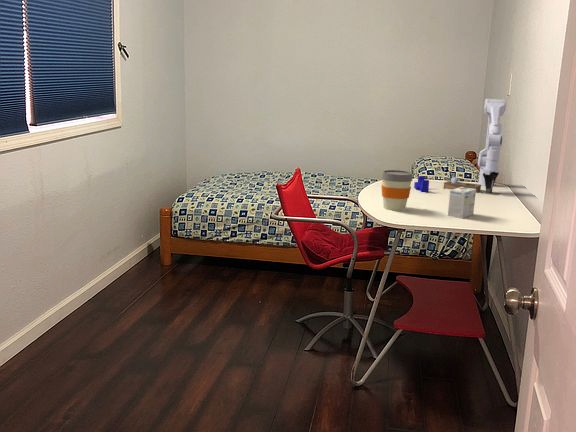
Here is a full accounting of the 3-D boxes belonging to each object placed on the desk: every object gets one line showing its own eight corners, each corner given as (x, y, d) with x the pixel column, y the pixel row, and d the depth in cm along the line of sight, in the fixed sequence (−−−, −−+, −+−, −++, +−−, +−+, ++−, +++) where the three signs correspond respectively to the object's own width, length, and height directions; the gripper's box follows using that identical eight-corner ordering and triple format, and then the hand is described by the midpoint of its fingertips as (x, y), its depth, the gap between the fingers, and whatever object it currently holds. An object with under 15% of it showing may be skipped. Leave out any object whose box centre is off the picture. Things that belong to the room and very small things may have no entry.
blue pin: (451, 187, 323) (452, 177, 322) (457, 188, 321) (458, 177, 320) (449, 188, 320) (451, 177, 319) (455, 189, 319) (457, 178, 318)
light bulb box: (458, 212, 268) (461, 186, 266) (474, 214, 264) (476, 188, 262) (446, 215, 260) (449, 189, 258) (462, 218, 256) (465, 191, 254)
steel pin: (486, 191, 315) (488, 175, 313) (492, 192, 313) (494, 176, 311) (484, 192, 312) (486, 176, 310) (491, 193, 311) (493, 177, 309)
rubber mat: (484, 191, 317) (484, 190, 317) (501, 193, 314) (501, 192, 313) (480, 193, 311) (480, 193, 311) (497, 196, 307) (497, 195, 307)
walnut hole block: (448, 186, 326) (448, 180, 326) (480, 190, 318) (481, 184, 318) (443, 188, 319) (444, 182, 319) (476, 193, 312) (476, 187, 311)
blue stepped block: (414, 188, 319) (415, 175, 318) (423, 188, 319) (424, 176, 318) (418, 192, 308) (419, 180, 306) (428, 193, 308) (429, 180, 306)
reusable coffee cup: (386, 211, 262) (389, 175, 259) (374, 205, 274) (377, 170, 271) (414, 211, 266) (418, 175, 262) (401, 204, 277) (404, 170, 274)
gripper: (487, 157, 317) (484, 184, 320) (480, 160, 305) (476, 188, 308) (502, 158, 314) (499, 186, 317) (495, 161, 301) (492, 190, 304)
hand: (489, 187), depth 312 cm, fingers open, 4 cm apart
